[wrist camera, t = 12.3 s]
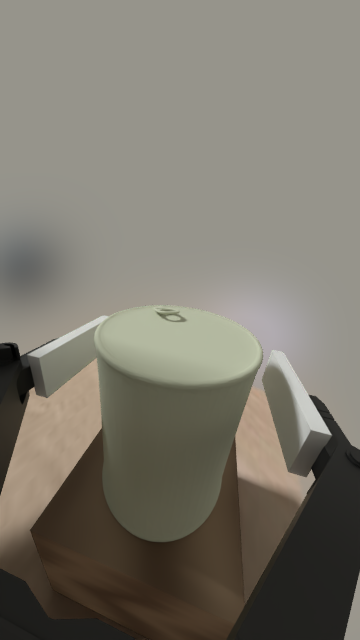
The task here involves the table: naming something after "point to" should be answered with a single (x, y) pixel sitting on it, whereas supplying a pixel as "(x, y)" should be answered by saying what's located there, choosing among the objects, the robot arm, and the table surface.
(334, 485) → the robot arm
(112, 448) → the can
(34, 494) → the table surface
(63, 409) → the table surface
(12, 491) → the table surface
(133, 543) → the walnut stand
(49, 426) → the table surface
